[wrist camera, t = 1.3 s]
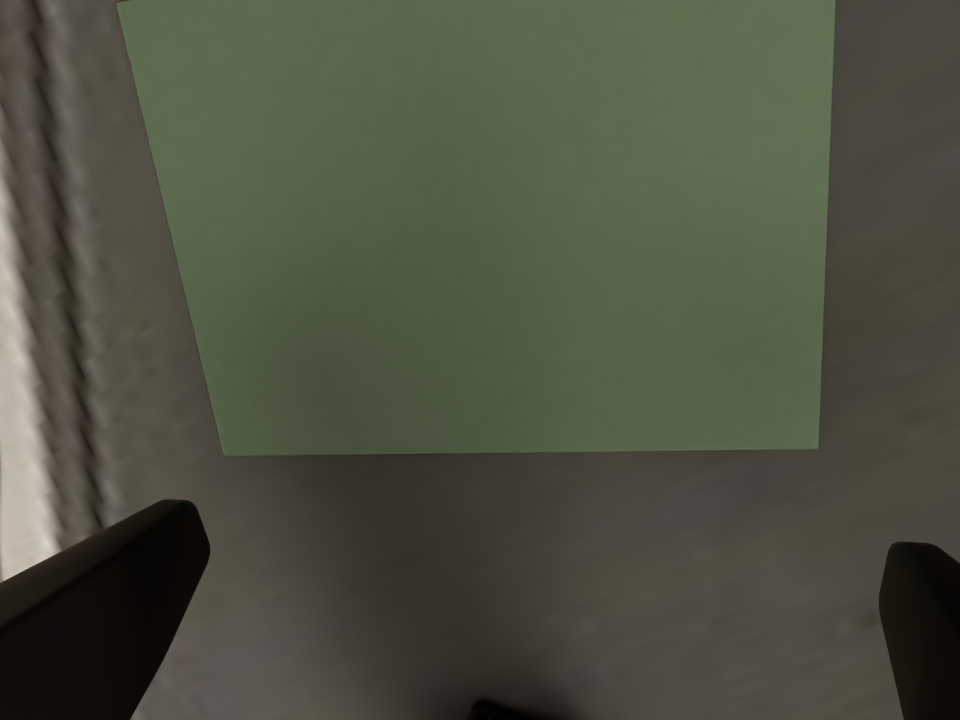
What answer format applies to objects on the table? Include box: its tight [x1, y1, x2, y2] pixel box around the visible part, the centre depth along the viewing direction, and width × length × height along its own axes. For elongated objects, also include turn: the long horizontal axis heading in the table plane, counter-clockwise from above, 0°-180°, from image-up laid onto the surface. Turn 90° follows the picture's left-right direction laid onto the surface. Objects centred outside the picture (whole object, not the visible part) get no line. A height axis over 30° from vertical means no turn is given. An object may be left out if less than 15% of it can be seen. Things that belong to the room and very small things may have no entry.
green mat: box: [116, 0, 836, 456], centre depth 21 cm, size 15×20×1 cm
